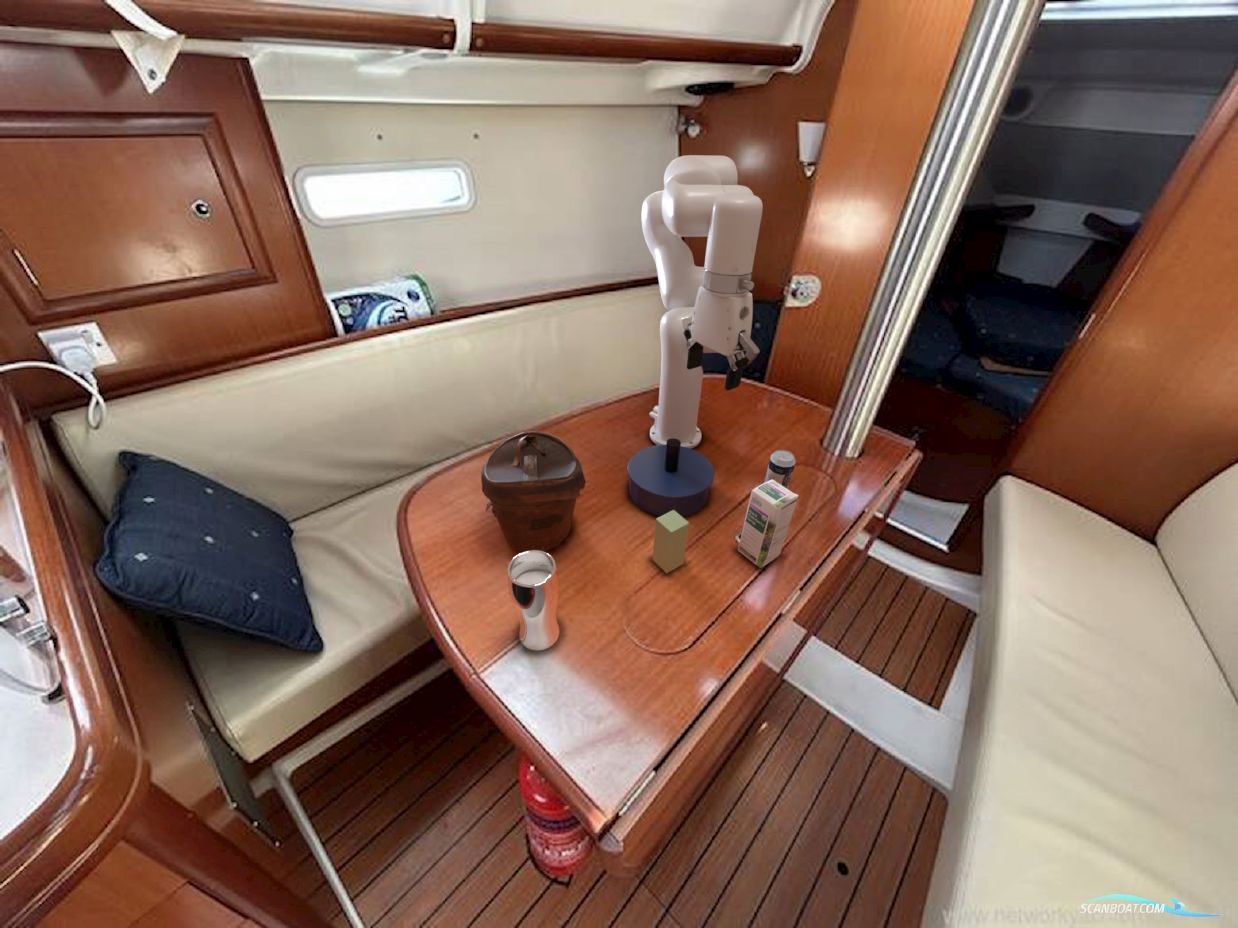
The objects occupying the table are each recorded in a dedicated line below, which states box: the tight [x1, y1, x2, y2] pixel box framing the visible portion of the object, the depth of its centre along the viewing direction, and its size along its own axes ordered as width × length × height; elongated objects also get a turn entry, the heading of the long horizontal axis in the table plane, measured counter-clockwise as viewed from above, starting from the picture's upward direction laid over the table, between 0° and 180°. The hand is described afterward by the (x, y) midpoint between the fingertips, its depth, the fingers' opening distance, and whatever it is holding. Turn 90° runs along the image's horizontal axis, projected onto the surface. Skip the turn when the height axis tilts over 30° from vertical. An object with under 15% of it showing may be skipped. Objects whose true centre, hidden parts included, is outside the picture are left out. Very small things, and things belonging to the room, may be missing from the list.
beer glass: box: [506, 550, 560, 652], centre depth 73 cm, size 7×7×15 cm
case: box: [480, 430, 587, 552], centre depth 91 cm, size 18×20×18 cm
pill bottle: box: [763, 449, 797, 490], centre depth 100 cm, size 5×5×12 cm
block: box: [652, 510, 690, 574], centre depth 87 cm, size 4×4×10 cm
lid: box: [627, 438, 715, 499], centre depth 101 cm, size 18×18×8 cm
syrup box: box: [737, 479, 799, 569], centre depth 88 cm, size 6×6×14 cm
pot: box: [628, 476, 711, 518], centre depth 104 cm, size 17×17×5 cm
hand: (712, 377), depth 91 cm, fingers open, 9 cm apart
